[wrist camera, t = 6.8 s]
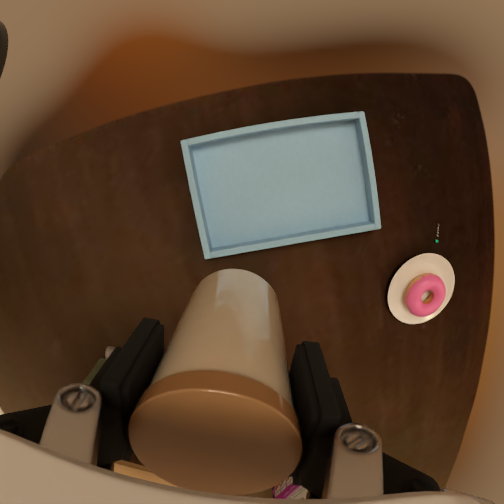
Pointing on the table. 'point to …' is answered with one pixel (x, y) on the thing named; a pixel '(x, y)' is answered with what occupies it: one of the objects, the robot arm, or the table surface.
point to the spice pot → (221, 394)
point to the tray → (282, 183)
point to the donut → (421, 288)
